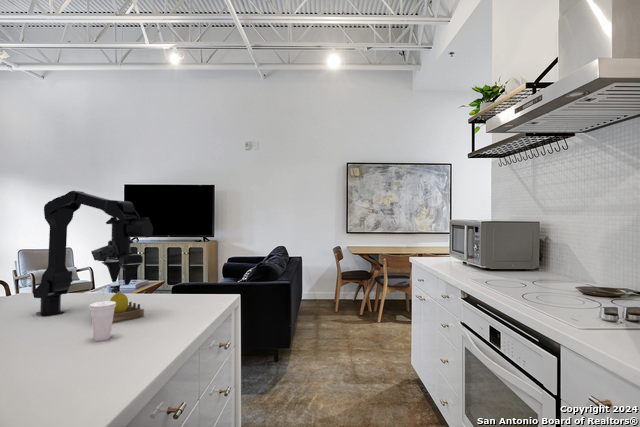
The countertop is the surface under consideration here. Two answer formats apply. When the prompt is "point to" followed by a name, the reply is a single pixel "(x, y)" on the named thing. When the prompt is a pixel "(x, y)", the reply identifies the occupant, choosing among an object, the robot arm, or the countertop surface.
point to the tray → (129, 313)
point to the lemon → (120, 302)
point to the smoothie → (102, 318)
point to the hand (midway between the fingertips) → (120, 283)
